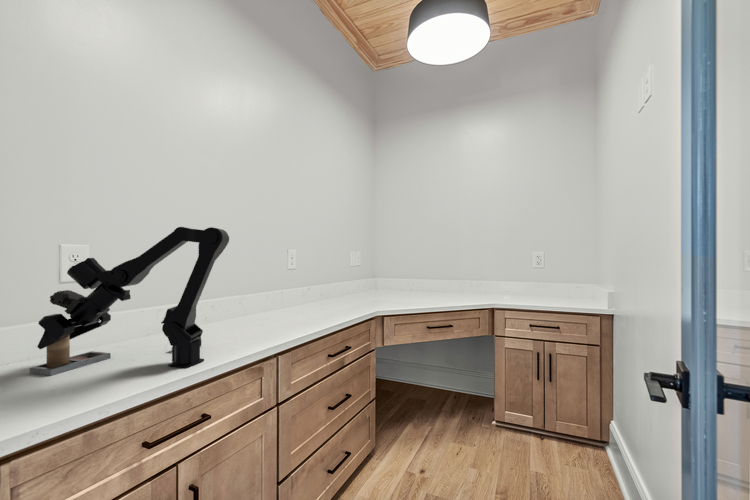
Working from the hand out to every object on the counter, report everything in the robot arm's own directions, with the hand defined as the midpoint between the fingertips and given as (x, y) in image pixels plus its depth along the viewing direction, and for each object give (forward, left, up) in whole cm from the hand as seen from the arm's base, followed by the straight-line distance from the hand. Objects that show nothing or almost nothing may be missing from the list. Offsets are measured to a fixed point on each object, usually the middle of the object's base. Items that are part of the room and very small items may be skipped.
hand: (53, 343), depth 91 cm
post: (-1, 0, -7) cm, 7 cm away
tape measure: (-20, -24, -7) cm, 32 cm away
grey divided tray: (-1, -4, -7) cm, 8 cm away
